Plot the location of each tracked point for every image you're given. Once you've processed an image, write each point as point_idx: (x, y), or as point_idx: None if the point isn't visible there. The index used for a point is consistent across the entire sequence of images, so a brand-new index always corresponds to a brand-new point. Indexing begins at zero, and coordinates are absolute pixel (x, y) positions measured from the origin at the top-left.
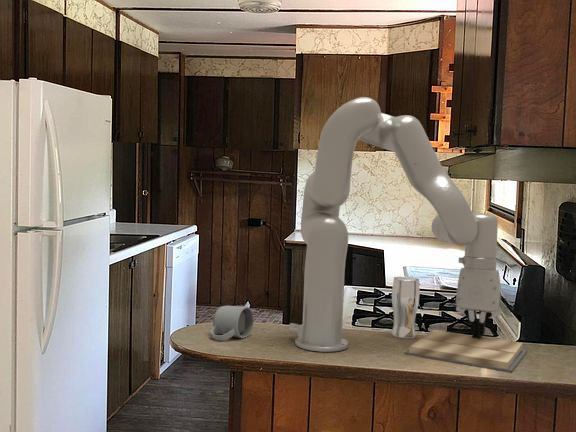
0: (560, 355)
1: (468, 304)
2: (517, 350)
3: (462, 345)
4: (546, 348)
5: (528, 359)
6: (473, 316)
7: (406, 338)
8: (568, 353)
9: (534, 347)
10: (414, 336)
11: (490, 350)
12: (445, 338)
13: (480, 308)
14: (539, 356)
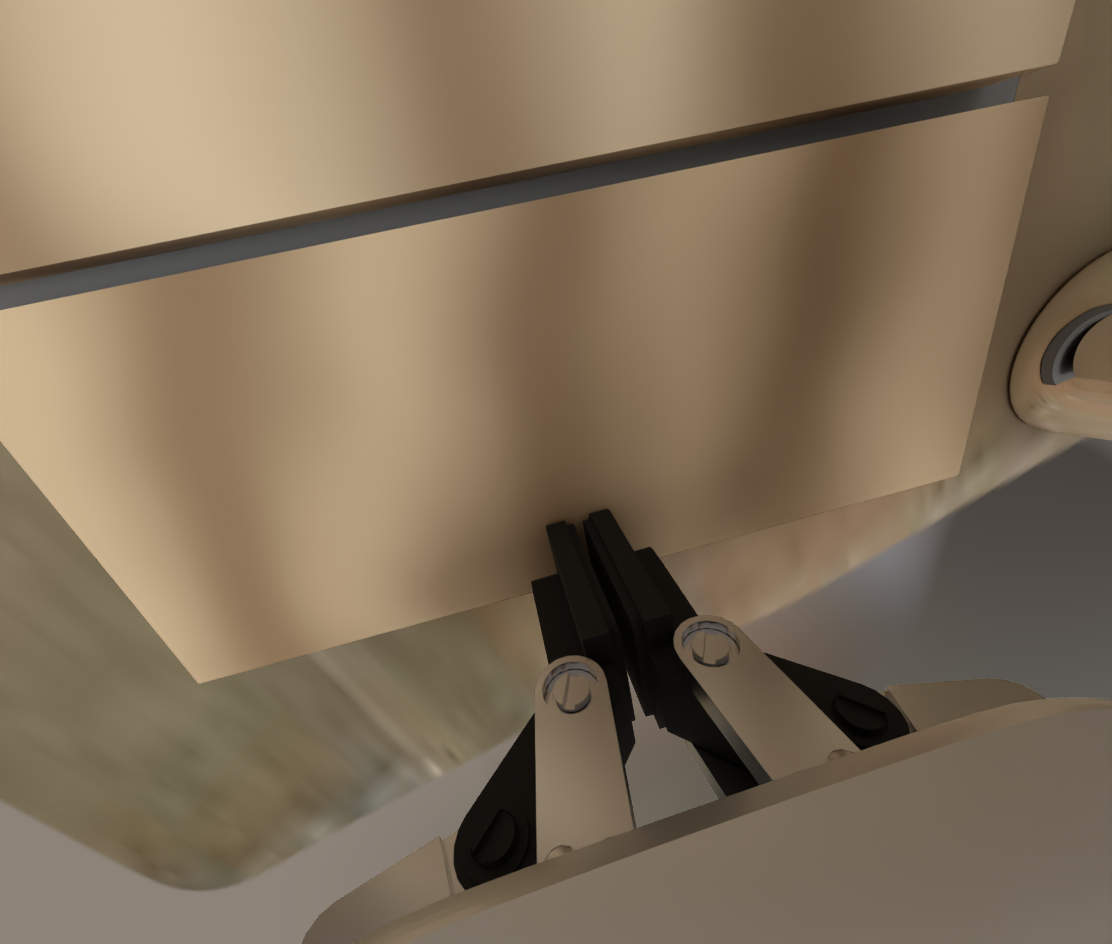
0: (36, 755)
1: (1050, 891)
2: (19, 457)
3: (574, 136)
4: (234, 797)
5: (27, 489)
6: (712, 688)
7: (1081, 271)
8: (61, 817)
9: (293, 765)
10: (1028, 353)
11: (185, 173)
12: (817, 289)
13: (646, 910)
14: (78, 633)
